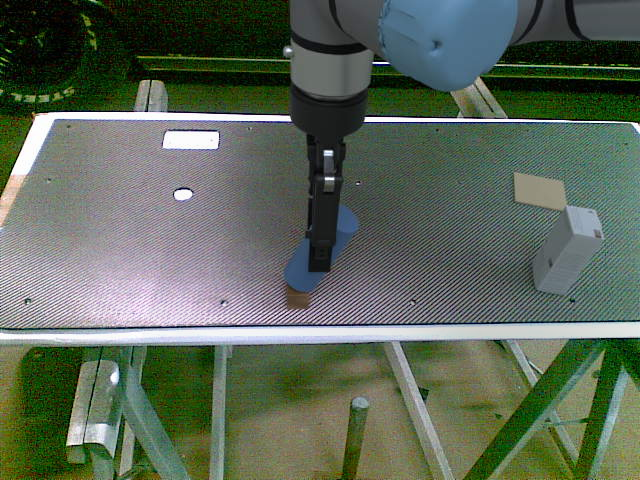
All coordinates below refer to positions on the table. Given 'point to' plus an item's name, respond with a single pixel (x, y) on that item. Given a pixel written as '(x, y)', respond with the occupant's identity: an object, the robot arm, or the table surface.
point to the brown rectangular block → (297, 299)
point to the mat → (539, 191)
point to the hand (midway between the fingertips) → (318, 252)
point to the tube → (298, 263)
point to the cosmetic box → (567, 250)
